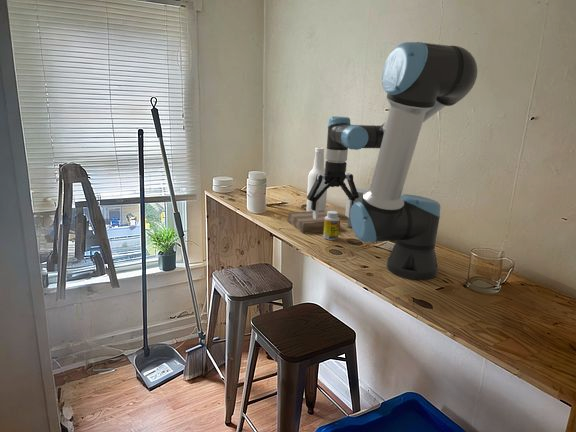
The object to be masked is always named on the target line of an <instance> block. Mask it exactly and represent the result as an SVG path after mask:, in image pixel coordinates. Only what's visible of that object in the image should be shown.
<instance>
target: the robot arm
mask: <svg viewBox="0 0 576 432" xmlns="http://www.w3.org/2000/svg"><path fill="white" fill-rule="evenodd" d="M477 79H478V65H477V62H476V60H475V57H474V56H473V54H472V53H471V52H470V51H469V50H468V49H466V48H464V47H462V46H458V45H445V44H436V43H429V42H422V41H420V42H419V41H416V42H415V41H414V42H412V41H410V42H409V41H406V42H401V43H400V44H398V45H396V47H395V48H394V49H393V50H391V52H390V53H389V55H388V56H387V58H386V60H385V62H384V65H383V69H382V74H381V80H382V82H381V85H382V88H383V90H384V92H385V93H387V94H386V100H387V101H388V104H389V105H390V107H389V108H390V109H389V112H388V116H387V120H386V121H385V122H384V123H382V125H375V124H374V125H373V124H372V125H371V124H370V125H366V124H351V119H350V117H348V116H338V115H337V116H330V117H329V118H328V124H327V140H326V152H325V153H326V154H325V159H326V161H325V163H324V169H325V175H320V174H317V176H316V181H315V183H314V184H313V186H312V188H311V190H310V192H309V194H308V196H307V195H306V200H307V199H308V200H310V201H311V202H312V203H311V209H312V210H313V218H314V219H315V220H318V206H319V202H317V201H318V199H319V198H320V197H321V196H322V195H323V193H324V192H325V191H326V190H327V191H328V189H329V188H330V187H331V188H334V187H335V188H336V187H337V188H338V187H340V188H341V190H343V192H344V193H345V195H346V197H347V198H346V202H345V214H344V216H345V217H347V219H348V218H349V217H350V216H351V224H352V227H351V228H352V231H353V233H354V235H355V236H356V238H357V240H359V241H360V242H363V243H376V242H389V241H391V242H392V241H395V242H394V245H393V248H392V249H391V252H390V255H389V256H388V258H387V259H386V260H387V261H386V262H387V263H386V268H387V270H388V271H389V272H390V273H392V274H394V275H395V276H398V277H402V278H405V279H410V280H418V281H419V280H421V281H422V280H423V281H424V280H430V279H435V278H436V277H437V275H438V272H439V266H438V263H437V256H436V250H435V249H436V242H437V237H438V236H437V235H438V229H439V223H440V218H441V204H440V203H439V202H438V201H436V200H434V199H431V198H428V197H424V196H421V195H416V194H415V195H414V194H403V190H404V186H405V183H406V180H407V176H408V173H409V169H410V166H411V163H412V159H413V156H414V153H415V149H416V146H417V142H418V140H419V139H418V138H419V137H420V132H421V129H422V126H423V123H425V122H426V121H428V120H429V119H430V118H431V117H433V116H435V115H436V114H437V113H438V112H440V111H441V110H443V109H444V108H445V107H452V106H454V105H455V104H457V103H459V102H460V101H461V100H463V99H464V98H465V97H466V96H467V95H468V94H469V93H470V92H471V91H472V89H473V88H474V85H475V84H476V81H477ZM361 149H379V152H378V156H377V160H376V163H375V166H374V167H375V168H374V172H373V176H372V180H371V184H370V188H369V189H366V190H367V191H365V192H364V193H363V197H362V201H361V202H356V203H354V204H353V202H354V201H355V200H356V198H359V195H358V192H357V190H356V188H357V187H356V185H355V181H354V174H352V173H349V172H348V173H347V174H346V172H347V161H348V153H349V152H348V151H349V150H355V151H358V150H361ZM323 179H325V182H324V183H323V184H322V186H321V187H320V189H319V190H318V188H319V186H320V184H321V182H322V181H323ZM345 180H346V181H347V183H348V186H349V187H347V184H346V183H345ZM317 190H318V191H317ZM350 190H351V192H352V194H351V192H350Z"/></svg>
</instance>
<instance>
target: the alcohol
mask: <svg viewBox="0 0 576 432" xmlns="http://www.w3.org/2000/svg"><path fill="white" fill-rule="evenodd" d="M314 149H315V150H314V160H313V167H312V169H311V170H310V171H309V172H308V175H307V188H306V189H307V191H306V197H307V196H308V194H309V192H310V190H311V188H312V186H313V184H314V183H315V181H316V176H317V174H320V175H325V157H324V156H325V155H324V153H325V148H324V147H315V148H314ZM324 182H325V179H323V181H322V182H321V184H320V186H319V188H318V190H319V189H320V187H321V186H322V184H323V183H324ZM318 190H317V191H318ZM327 193H328V189H327V190H326V191H325V192H324V193H323V195H322V196H321V197H320V198H319V199H318V201H317V202H319V206H318V211H324V212H326V210H327V207H326V206H327V195H328V194H327ZM311 203H312V202H311V201H310V200H308V199H307V198H306V208H305V209H306V211H305V212H307V211H313V210H312V209H311Z"/></svg>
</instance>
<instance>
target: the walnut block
mask: <svg viewBox="0 0 576 432" xmlns="http://www.w3.org/2000/svg"><path fill="white" fill-rule="evenodd" d="M326 216H327V212H326V211H325V212H324V211H318V220H315V219H314V218H313V211H307V212H306V211H292V212H291V211H290V212H288V214H287V218H288V219H287V221H288V223H289V224H290V223H291V224H290V225H291V226H293V227H294V228H295V229H297V230H298V231H299V232H301V233H302V234H309V233H324V220H325V217H326ZM340 226H341V220H340V219H339V230H340V228H341V227H340Z"/></svg>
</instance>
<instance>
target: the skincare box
mask: <svg viewBox="0 0 576 432" xmlns="http://www.w3.org/2000/svg"><path fill="white" fill-rule="evenodd" d="M356 190H357V192H358V195H359V198H356V200H355V201H354V202H353V204H354V203H356V202H361V201H362V197H363V193H364V192H365V191H367V190H368V189H364V188H357V187H356ZM349 191H350V192H351V189H349ZM351 194H352V192H351ZM347 227H348V228H352V224H351V216H350V217H349V218H348V217H347Z"/></svg>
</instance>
